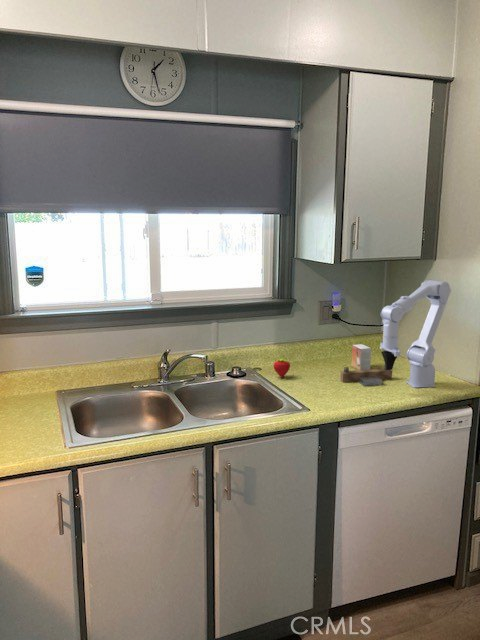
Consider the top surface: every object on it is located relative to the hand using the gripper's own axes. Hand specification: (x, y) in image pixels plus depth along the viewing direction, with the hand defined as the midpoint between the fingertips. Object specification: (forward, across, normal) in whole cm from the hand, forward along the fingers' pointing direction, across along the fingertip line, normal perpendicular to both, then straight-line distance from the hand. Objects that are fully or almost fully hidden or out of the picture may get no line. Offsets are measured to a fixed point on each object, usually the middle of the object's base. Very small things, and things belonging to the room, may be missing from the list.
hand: (389, 369), depth 213 cm
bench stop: (+9, -16, -3) cm, 19 cm away
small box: (+10, -33, +1) cm, 34 cm away
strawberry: (+10, -26, -38) cm, 47 cm away
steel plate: (+10, -11, -3) cm, 15 cm away
